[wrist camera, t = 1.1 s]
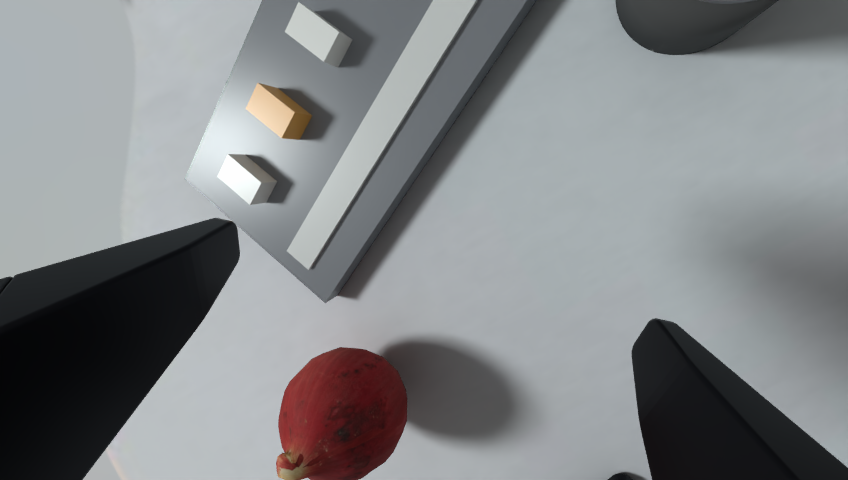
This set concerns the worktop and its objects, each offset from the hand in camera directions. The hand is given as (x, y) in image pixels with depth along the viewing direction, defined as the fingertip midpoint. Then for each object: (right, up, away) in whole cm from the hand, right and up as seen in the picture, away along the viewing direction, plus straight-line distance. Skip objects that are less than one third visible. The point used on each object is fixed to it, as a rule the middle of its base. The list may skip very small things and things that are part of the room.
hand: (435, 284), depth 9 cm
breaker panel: (-4, +8, +12) cm, 15 cm away
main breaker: (-7, +7, +12) cm, 15 cm away
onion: (-3, -6, +14) cm, 16 cm away
